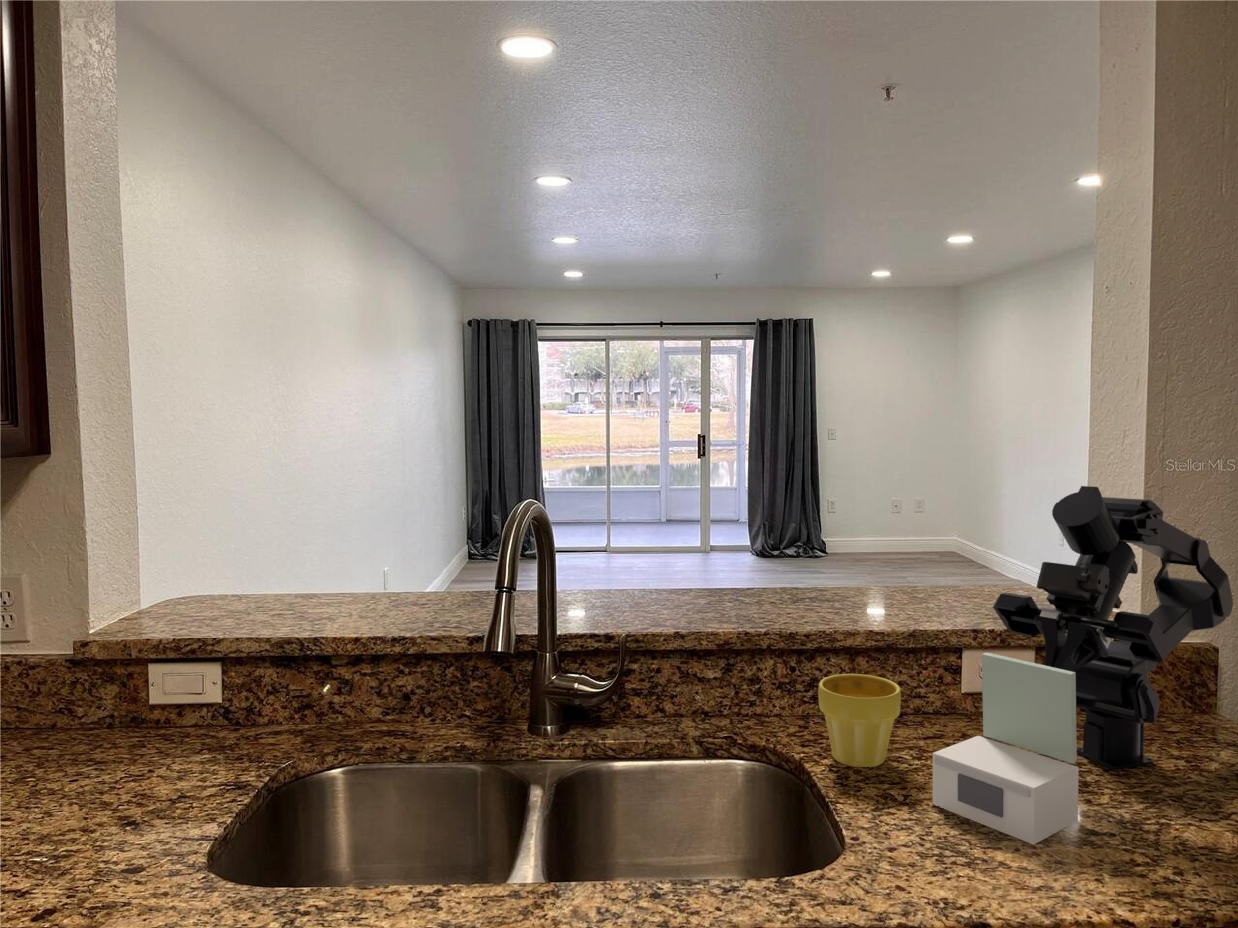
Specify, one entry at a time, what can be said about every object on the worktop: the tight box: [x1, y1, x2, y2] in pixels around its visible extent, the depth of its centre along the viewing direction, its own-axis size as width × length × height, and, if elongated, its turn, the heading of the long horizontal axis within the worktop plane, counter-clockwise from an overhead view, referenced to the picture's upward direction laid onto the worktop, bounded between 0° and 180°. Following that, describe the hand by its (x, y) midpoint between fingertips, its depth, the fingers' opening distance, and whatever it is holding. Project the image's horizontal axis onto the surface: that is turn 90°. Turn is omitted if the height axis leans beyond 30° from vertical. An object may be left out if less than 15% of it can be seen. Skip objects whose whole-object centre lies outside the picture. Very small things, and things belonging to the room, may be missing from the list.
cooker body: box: [932, 735, 1079, 846], centre depth 97 cm, size 9×12×6 cm
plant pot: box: [818, 673, 902, 768], centre depth 113 cm, size 10×10×10 cm
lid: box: [981, 652, 1078, 764], centre depth 100 cm, size 10×11×2 cm
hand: (1049, 682), depth 102 cm, fingers closed
